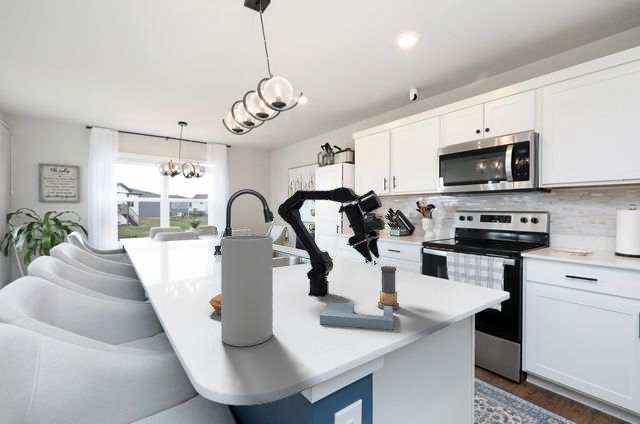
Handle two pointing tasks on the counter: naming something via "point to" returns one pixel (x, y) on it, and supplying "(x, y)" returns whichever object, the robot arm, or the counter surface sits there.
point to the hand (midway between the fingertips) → (374, 259)
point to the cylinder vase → (246, 289)
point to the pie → (216, 303)
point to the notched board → (355, 317)
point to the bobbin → (388, 289)
